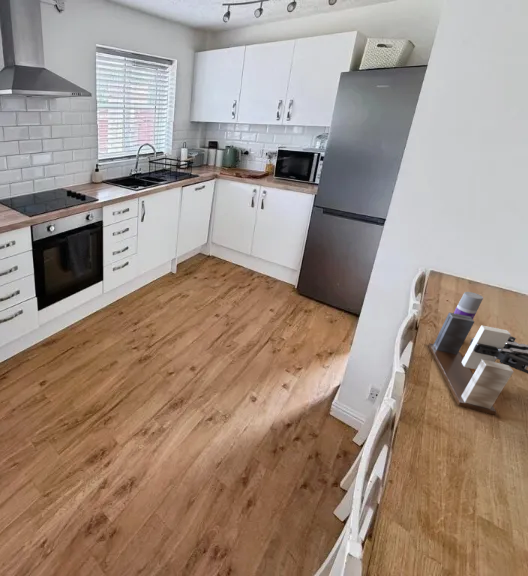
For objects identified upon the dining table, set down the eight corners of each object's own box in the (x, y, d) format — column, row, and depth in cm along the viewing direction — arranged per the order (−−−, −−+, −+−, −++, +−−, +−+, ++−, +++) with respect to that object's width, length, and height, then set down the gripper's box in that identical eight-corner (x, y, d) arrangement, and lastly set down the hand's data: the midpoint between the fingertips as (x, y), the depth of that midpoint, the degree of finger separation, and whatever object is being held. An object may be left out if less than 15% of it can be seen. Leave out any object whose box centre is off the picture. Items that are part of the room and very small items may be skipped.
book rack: (455, 352, 107) (474, 316, 102) (494, 415, 85) (520, 374, 80) (427, 345, 110) (444, 311, 104) (458, 405, 87) (481, 364, 82)
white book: (485, 367, 90) (507, 330, 85) (488, 372, 89) (511, 334, 84) (461, 362, 92) (481, 325, 87) (463, 366, 90) (484, 329, 85)
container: (458, 343, 112) (481, 300, 105) (440, 336, 115) (461, 293, 108) (463, 339, 114) (486, 296, 107) (446, 332, 117) (466, 290, 111)
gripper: (558, 334, 87) (469, 317, 93) (596, 368, 75) (492, 347, 81) (541, 360, 90) (457, 342, 96) (575, 396, 79) (476, 373, 84)
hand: (473, 344), depth 88 cm, fingers closed on white book, 2 cm apart
